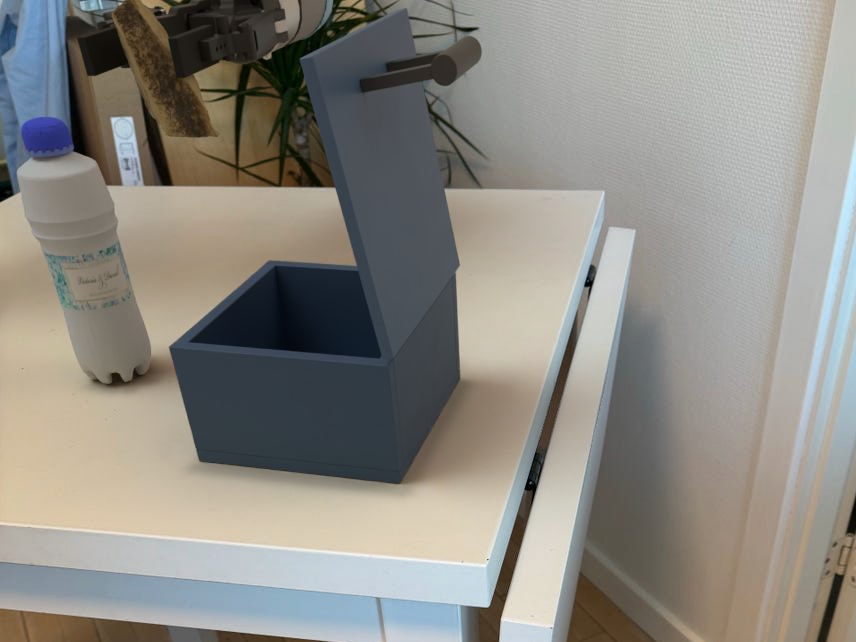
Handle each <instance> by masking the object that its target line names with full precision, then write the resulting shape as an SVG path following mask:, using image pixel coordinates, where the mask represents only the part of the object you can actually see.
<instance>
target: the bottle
mask: <svg viewBox="0 0 856 642" xmlns="http://www.w3.org/2000/svg"><path fill="white" fill-rule="evenodd" d="M20 134H21V139H22V141H23V145H24V148H25V151H26V153H27V155H28V156H30V158H29V159H28V160H26V161H25V162H24V163H23V164H21V166H19V167H18V169H17V171H16V176H17V177H16V178H17V182H18V186H19V191H20V196H21V203H22V207H23V211H24V217H25V219H26V220H27V222H28V224H29V226H30V229H31V231H30V232H31V234H32V236H33V237H34V238H35V239H36V240H37V241H38V242H39V244H40V247H41V250H42V253H43V257H44V260H45V261H46V265H47V268H48V272H49V274H50V277H51V280H52V283H53V286H54V289H55V292H56V294H57V298H58V301H59V304H60V306H61V309H62V312H63V315H64V319H65V323H66V327H67V331H68V335H69V339H70V343H71V346H72V349H73V352H74V355H75V358H76V360H77V363H78V365H79V367H80V368H81V370H82V372H83V373H84V374H85V375H86V376H87V377H88V378H89V379H92V380H98V381H100V382H101V383H102V384H107V385H108V384H112V382H113V376H112V375H113V374H115V373H117V374H118V375H120V377H121V379H122V381H123V382H125V383H127V382H130V381H132V380H133V377H134V370H135V372H136V373H137V374H138V375H141V376H142V375H145V374H146V373H147V372H148V371H149V370H150V365H151V359H152V345H151V340H150V337H149V334H148V330H147V328H146V327H147V326H146V324H145V321H144V319H143V315H142V313H141V310H140V307H139V305H138V303H137V299H136V296H135V292H134V289H133V285H132V281H131V278H130V273H129V270H128V266H127V263H126V260H125V256H124V252H123V248H122V246H121V242H120V238H119V236H118V235H119V234H118V225H119V219H118V217H117V215H116V209H115V202H114V199H113V198H112V196H111V193H110V191H109V188H108V185H107V184H106V181H105V179H104V176H103V173H102V171H101V169H100V166H99V164H98V162H97V161H96V160H95V159H93V158H91V157H90V156H86V155H83V154H81V153H79V152H76V151H74V150H75V146H74V142H73V139H72V136H71V132H70V130H69V127H68V126H67V123H65V122H64V121H63V120H62V119H60V118H57V117H53V116H38V117H34V118H31V119H28V120H26V121H25V122H24V123H22V126H21V128H20Z"/></svg>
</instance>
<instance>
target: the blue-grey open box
mask: <svg viewBox="0 0 856 642" xmlns="http://www.w3.org/2000/svg"><path fill="white" fill-rule="evenodd" d="M456 272H457V271H456ZM456 272H455V273H454V275H453V276H452V277H451V279H450V280H449V282H448V283H447V284H446V286H445V287H444V289H443V290H442V291H441V293H440V294H439V296H438V297H437V298H436V300H435V301H434V302H433V304H432V305H431V307H430V308H429V309H428V311H427V312H426V314H425V315H424V316H423V318H422V319H421V321H420V322H419V323H418V325H417V326H416V328H415V329H414V330H413V332H412V333H411V335H410V336H409V337H408V339H407V340H406V341H405V343H404V344H403V346H402V347H401V348H400V350H399V351H398V353H397V354H396V355H395V357H394V358H393V359H383V358H382V355H381V351H380V348H379V344H378V340H377V337H376V333H375V330H374V326H373V322H372V319H371V315H370V311H369V308H368V304H367V301H366V297H365V293H364V290H363V286H362V283H361V279H360V275H359V272H358V268H357V265H351V264H350V265H348V264H336V263H335V264H334V263H333V264H332V263H318V262H317V263H316V262H302V261H287V260H273V259H272V260H271V259H269V260H267V261H266V262H265V263H264V264H263V265H262V266H261V267H260V268H259V269H257V270H256V271H255V272H254V273H253V274H251V276H249V277H248V278H247V279H246V280H245V281H243V283H241V284H240V285H238V286H237V288H235V290H232V292H231V293H230V294H228V295H227V296H226V297H225V298H224V299H223V300H222V301H221V302H219V303H218V304H217V305H216V306H214V308H212V309H211V310H210V311H209V312H208V313H207V314H205V315H204V316H203V317H202V318H201V319H200V320H198V321H197V322H196V323H195V324H193V326H191V328H189V329H188V330H187V331H185V332H184V333H183V334H182V335H181V336H180V337H179V338H177V339H176V340H175V341H174V342H172V344H170V345H169V346H168V349H169V354H170V358H171V361H172V365H173V369H174V372H175V376H176V379H177V385H178V387H179V390H180V396H181V398H182V403H183V406H184V409H185V413H186V417H187V421H188V425H189V428H190V432H191V435H192V439H193V443H194V448H195V451H196V455H197V458H198V461H199V462H206V463H216V464H222V465H223V464H224V465H233V466H241V467H250V468H258V469H259V468H260V469H266V470H267V469H268V470H277V471H284V472H295V473H301V474H302V473H304V474H313V475H321V476H329V477H337V478H338V477H339V478H348V479H355V480H364V481H374V482H383V483H391V484H399V485H400V484H401V483H402V482H403V480H404V478H405V476H406V474H407V473H408V471H409V469H410V468H411V466H412V464H413V462H414V461H415V459H416V457H417V456H418V453H419V452H420V450H421V448H422V446H423V445H424V443H425V441H426V439H427V438H428V436H429V434H430V432H431V431H432V429H433V428H434V425H435V424H436V422H437V420H438V418H440V415H441V413H442V412H443V410H444V408H445V406H446V405H447V403H448V401H449V399H450V398H451V396H452V394H453V392H454V391H455V389H456V388H457V385H458V383H459V382H460V380H461V360H460V338H459V337H460V336H459V335H460V334H459V319H458V318H459V313H458V292H457V291H458V290H457V273H456Z"/></svg>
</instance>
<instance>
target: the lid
mask: <svg viewBox="0 0 856 642" xmlns="http://www.w3.org/2000/svg"><path fill="white" fill-rule="evenodd" d="M408 11H409V10H408V8H407V7H402V8H398V9H395V10H394V11H391V12H390V13H388V14H386V15H383V16H381V17H379V18H378V19H376V20H374V21H371V22H370V23H368V24H366V25H364V26H361V27H359V28H357V29H356V30H354V31H352V32H349V33H348V34H346V35H344V36H342V37H339V38H338V39H335V40H333V41H332V42H329V43H327V44H326V45H324V46H322V47H320V48H318V49H316V50H314V51H312V52H310V53H307V54H306V55H304V56H302V57H300V58H299V62H300V66H301V69H302V73H303V77H304V81H305V84H306V88H307V91H308V95H309V98H310V102H311V105H312V109H313V114H314V116H315V119H316V120H315V121H316V123H317V127H318V131H319V134H320V138H321V142H322V145H323V149H324V153H325V156H326V160H327V163H328V166H329V171H330V174H331V177H332V181H333V184H334V189H335V192H336V196H337V200H338V203H339V206H340V210H341V214H342V218H343V221H344V224H345V228H346V232H347V235H348V239H349V242H350V246H351V249H352V254H353V257H354V260H355V266H357V268H358V272H359V275H360V279H361V283H362V286H363V290H364V293H365V297H366V301H367V304H368V308H369V311H370V315H371V319H372V322H373V326H374V330H375V333H376V337H377V340H378V344H379V348H380V351H381V355H382V358H383V359H393V358H394V357H395V355H396V354H397V353H398V351H399V350H400V348H401V347H402V346H403V344H404V343H405V341H406V340H407V339H408V337H409V336H410V335H411V333H412V332H413V330H414V329H415V328H416V326H417V325H418V323H419V322H420V321H421V319H422V318H423V316H424V315H425V314H426V312H427V311H428V309H429V308H430V307H431V305H432V304H433V302H434V301H435V300H436V298H437V297H438V296H439V294H440V293H441V291H442V290H443V289H444V287H445V286H446V284H447V283H448V282H449V280H450V279H451V277H452V276H453V275H454V273H455V272H457V271H458V269H459V268H460V266H461V263H460V259H459V252H458V248H457V244H456V239H455V234H454V228H453V225H452V220H451V215H450V210H449V205H448V200H447V195H446V191H445V186H444V180H443V176H442V171H441V167H440V161H439V157H438V152H437V151H438V150H437V146H436V142H435V137H434V132H433V128H432V122H431V117H430V113H429V108H428V103H427V99H426V93H425V89H424V83H423V82H425V81H430V80H434V82H435V83H436V84H437V85H439V86H442V87H448V86H451V85H452V84H453V83H456V81H457V80H459V79H460V78H461V77H462V76H463V75H465V74H466V73H467V72H468V71H469V70H471V69H472V68H473V67H474V66H476V65H477V64H478V63H479V61H480V60H481V58H482V53H483V49H482V46H481V43H480V41H479V40H478V39H477V38H476V37H474V36H471V35H465V36H463V37H461V38H460V39H459V40H457V41H456V42H455V43H453V44H451V45H449V47H447V48H445V49H442V50H437V51H432V52H426V53H423V54H417V50H416V46H415V40H414V36H413V31H412V25H411V21H410V16H409V13H408Z"/></svg>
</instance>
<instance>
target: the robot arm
mask: <svg viewBox="0 0 856 642" xmlns="http://www.w3.org/2000/svg"><path fill="white" fill-rule="evenodd" d="M333 4H334V0H190V1H189V2H188V3H185V4H179V5H174V6H171V7H169V9H168V12H167V10H166V9H165V8H164V7H163V6H160V5H155V6H153V7H152V8H148V9H149V10H150V11H151V12H153V13H154V15H155V16H156V19H157V21H158V22H160V24H161V25H162V26H163V28H164V29H165V31H166V32H167V35H168V37H169V38H168V42H169V46H170V51H171V55H172V60H173V65H174V69H175V74H176V78H186V77H188V76H190V75H192V74H194V75H195V74H196V73H199V72H201V71H203V70H206V69H208V68H211V67H212V66H216V65H217V64H219V63H220V59H221V61H225V62H228V63H229V62H230V63H231V64H235V65H249V64H251V63H254V62H256V61H258V60H260V59H263V60H266V61H267V60H271V59H272V57H273V56H272V53H273V52H275V51H277V50H280V49H282V48H284V47H286V46H288V45H291V44H292V43H293V44H294V43H295V42H298V41H300V40H306V39H308V38H310V37H311V36H313V35H314V34H315V33H316V32H317V31H318V30H320V29H321V28H322V27H323V25H324V24H325V23H326V22H327V21H328V19H329V17H330V16H331V13H332V11H333ZM95 26H96V30H95V31H93V32H89V33H87V34H83V35H81V36H77V37H76V39H77V43H78V47H79V50H80V55H81V57H82V61H83V65H84V69H85V73H86V76H87V77H98V76H100V75H102V74H104V73H107V72H110V71H112V70H115V69H118V68H121V69H131V68H130V65H129V62H128V59H127V57H126V55H125V53H124V49H123V47H122V44H121V41H120V37H119V35H118V31H117V29H116V27H115V24H114V20H113V18H112V19H107V20H100V21H99V22H96V23H95Z"/></svg>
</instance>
